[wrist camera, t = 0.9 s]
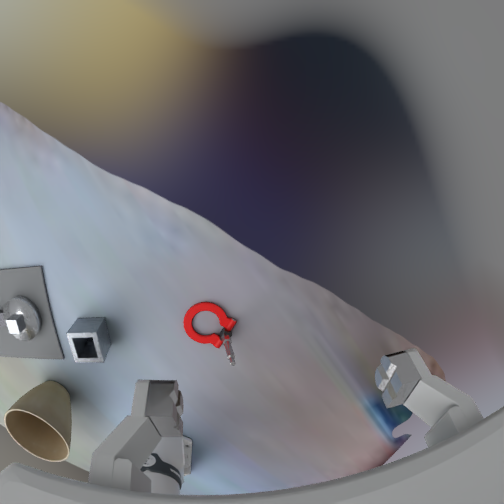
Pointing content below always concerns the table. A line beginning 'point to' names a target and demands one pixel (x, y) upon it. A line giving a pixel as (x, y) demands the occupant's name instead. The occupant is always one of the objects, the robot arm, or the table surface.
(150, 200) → the table surface
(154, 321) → the table surface
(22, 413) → the plant pot
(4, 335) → the mat
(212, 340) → the tow hook
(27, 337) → the ratchet
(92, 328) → the hollow square tube
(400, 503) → the robot arm
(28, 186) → the table surface
